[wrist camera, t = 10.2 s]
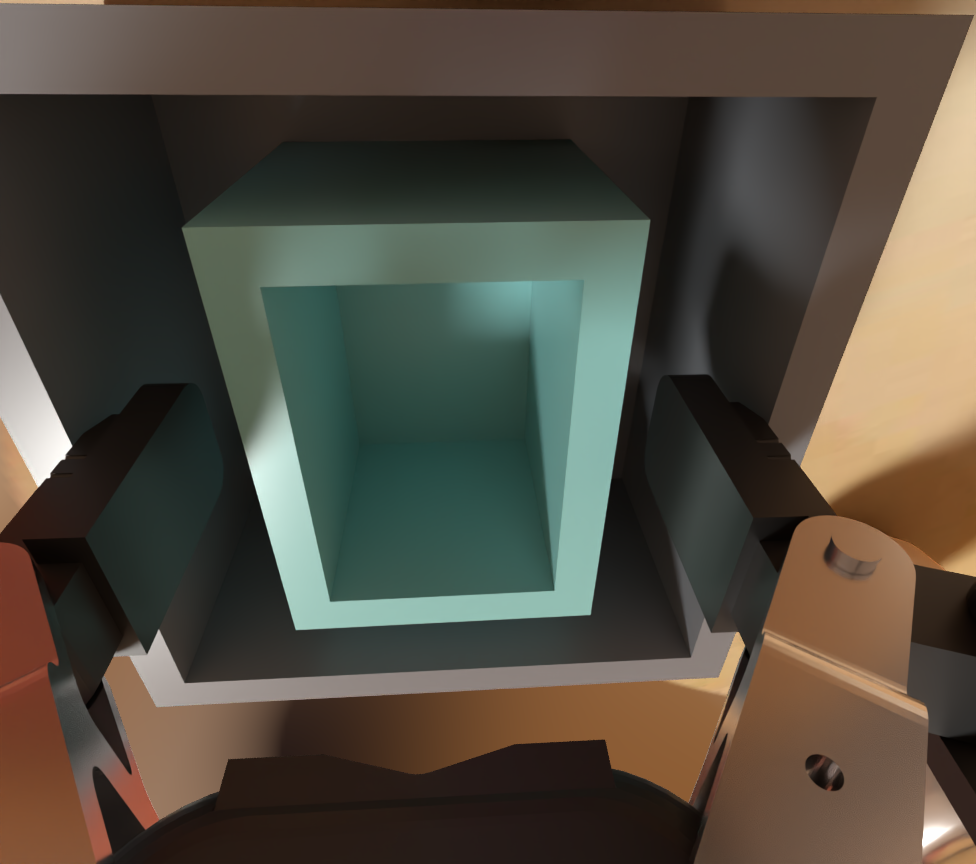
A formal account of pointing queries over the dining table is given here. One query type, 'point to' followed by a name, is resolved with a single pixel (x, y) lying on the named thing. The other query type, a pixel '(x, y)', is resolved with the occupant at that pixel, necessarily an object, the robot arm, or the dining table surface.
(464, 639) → the gray crate
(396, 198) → the teal crate
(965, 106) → the dining table surface
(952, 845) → the plastic bottle
